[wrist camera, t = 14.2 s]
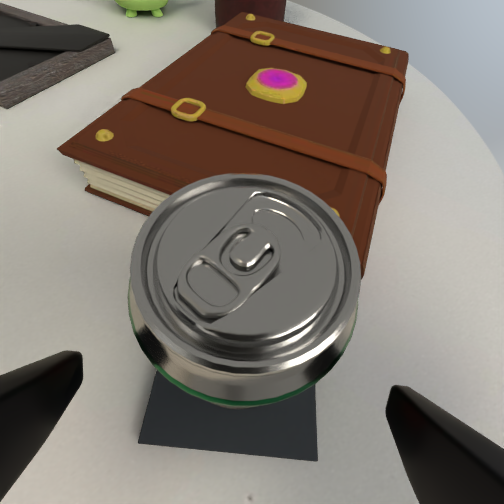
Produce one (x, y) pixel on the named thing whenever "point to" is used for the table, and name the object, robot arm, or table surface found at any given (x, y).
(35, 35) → the picture frame
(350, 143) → the book
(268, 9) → the vase
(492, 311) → the table surface
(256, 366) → the soda can
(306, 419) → the coaster mat
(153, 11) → the teapot
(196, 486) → the table surface
